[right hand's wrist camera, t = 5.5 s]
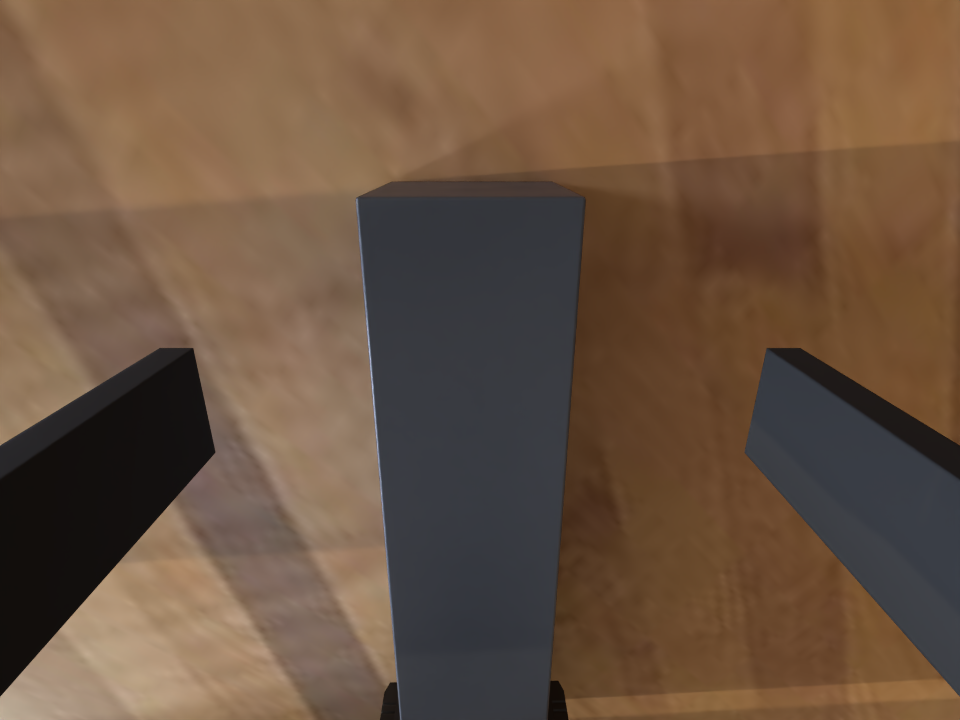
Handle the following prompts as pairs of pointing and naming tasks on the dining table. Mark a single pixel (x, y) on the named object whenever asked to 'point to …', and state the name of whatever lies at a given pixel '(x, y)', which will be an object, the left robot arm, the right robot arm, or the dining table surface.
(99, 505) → the right robot arm
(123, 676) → the dining table surface
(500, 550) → the grey beam
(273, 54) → the dining table surface
